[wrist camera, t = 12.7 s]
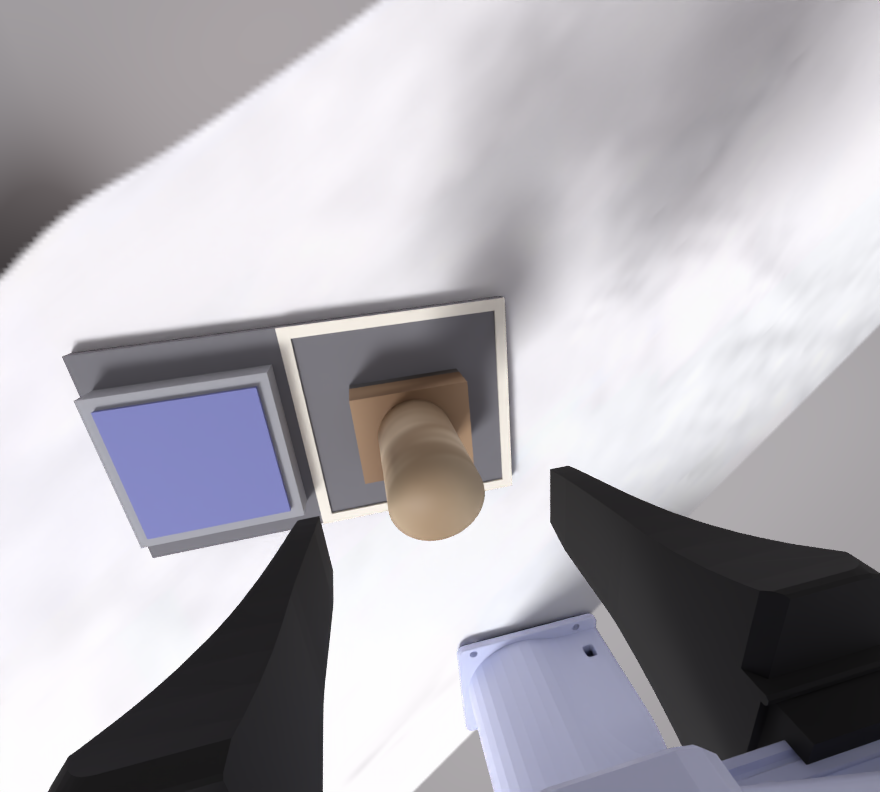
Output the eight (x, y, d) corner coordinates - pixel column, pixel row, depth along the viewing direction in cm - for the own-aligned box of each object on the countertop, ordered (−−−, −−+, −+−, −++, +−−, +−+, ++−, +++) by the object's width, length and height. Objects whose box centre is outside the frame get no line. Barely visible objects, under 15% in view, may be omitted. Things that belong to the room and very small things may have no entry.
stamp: (456, 368, 20) (508, 431, 13) (462, 443, 21) (512, 533, 15) (349, 385, 19) (348, 461, 12) (363, 462, 20) (370, 564, 14)
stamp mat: (500, 296, 19) (515, 302, 18) (508, 479, 23) (521, 499, 21) (69, 353, 17) (37, 366, 15) (157, 550, 20) (139, 580, 19)
